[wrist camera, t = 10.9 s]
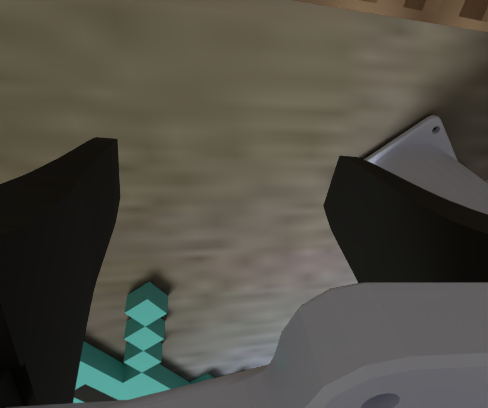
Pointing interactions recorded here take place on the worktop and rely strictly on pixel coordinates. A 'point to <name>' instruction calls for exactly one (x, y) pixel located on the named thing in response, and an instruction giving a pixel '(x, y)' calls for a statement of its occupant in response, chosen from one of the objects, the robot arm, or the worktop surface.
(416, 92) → the worktop surface
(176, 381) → the teal pixel toy sword
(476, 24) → the rack
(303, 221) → the worktop surface
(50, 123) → the worktop surface
